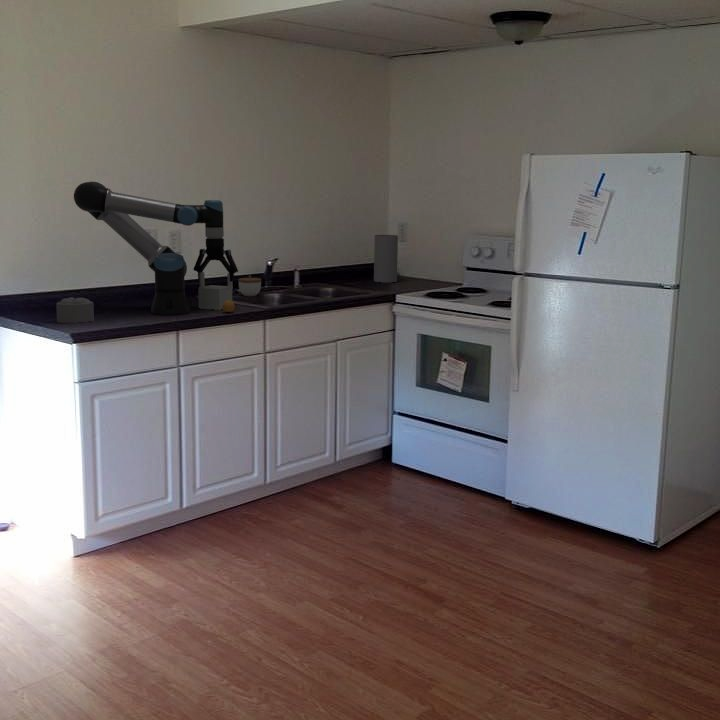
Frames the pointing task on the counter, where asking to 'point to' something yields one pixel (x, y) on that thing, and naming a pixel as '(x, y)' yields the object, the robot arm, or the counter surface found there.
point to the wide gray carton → (213, 296)
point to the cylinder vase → (385, 258)
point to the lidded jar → (249, 286)
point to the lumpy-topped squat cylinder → (74, 310)
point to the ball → (228, 306)
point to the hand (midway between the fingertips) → (216, 288)
